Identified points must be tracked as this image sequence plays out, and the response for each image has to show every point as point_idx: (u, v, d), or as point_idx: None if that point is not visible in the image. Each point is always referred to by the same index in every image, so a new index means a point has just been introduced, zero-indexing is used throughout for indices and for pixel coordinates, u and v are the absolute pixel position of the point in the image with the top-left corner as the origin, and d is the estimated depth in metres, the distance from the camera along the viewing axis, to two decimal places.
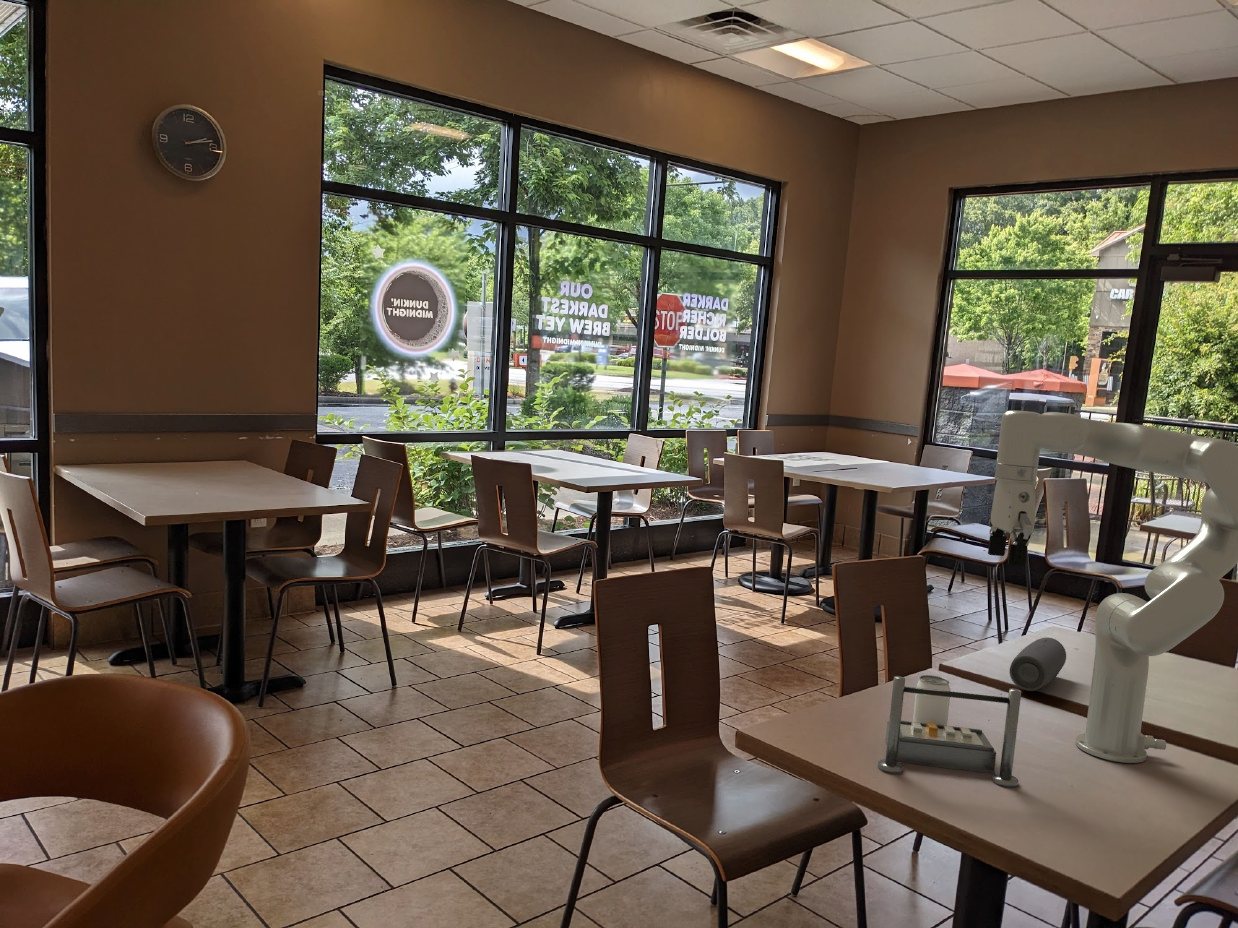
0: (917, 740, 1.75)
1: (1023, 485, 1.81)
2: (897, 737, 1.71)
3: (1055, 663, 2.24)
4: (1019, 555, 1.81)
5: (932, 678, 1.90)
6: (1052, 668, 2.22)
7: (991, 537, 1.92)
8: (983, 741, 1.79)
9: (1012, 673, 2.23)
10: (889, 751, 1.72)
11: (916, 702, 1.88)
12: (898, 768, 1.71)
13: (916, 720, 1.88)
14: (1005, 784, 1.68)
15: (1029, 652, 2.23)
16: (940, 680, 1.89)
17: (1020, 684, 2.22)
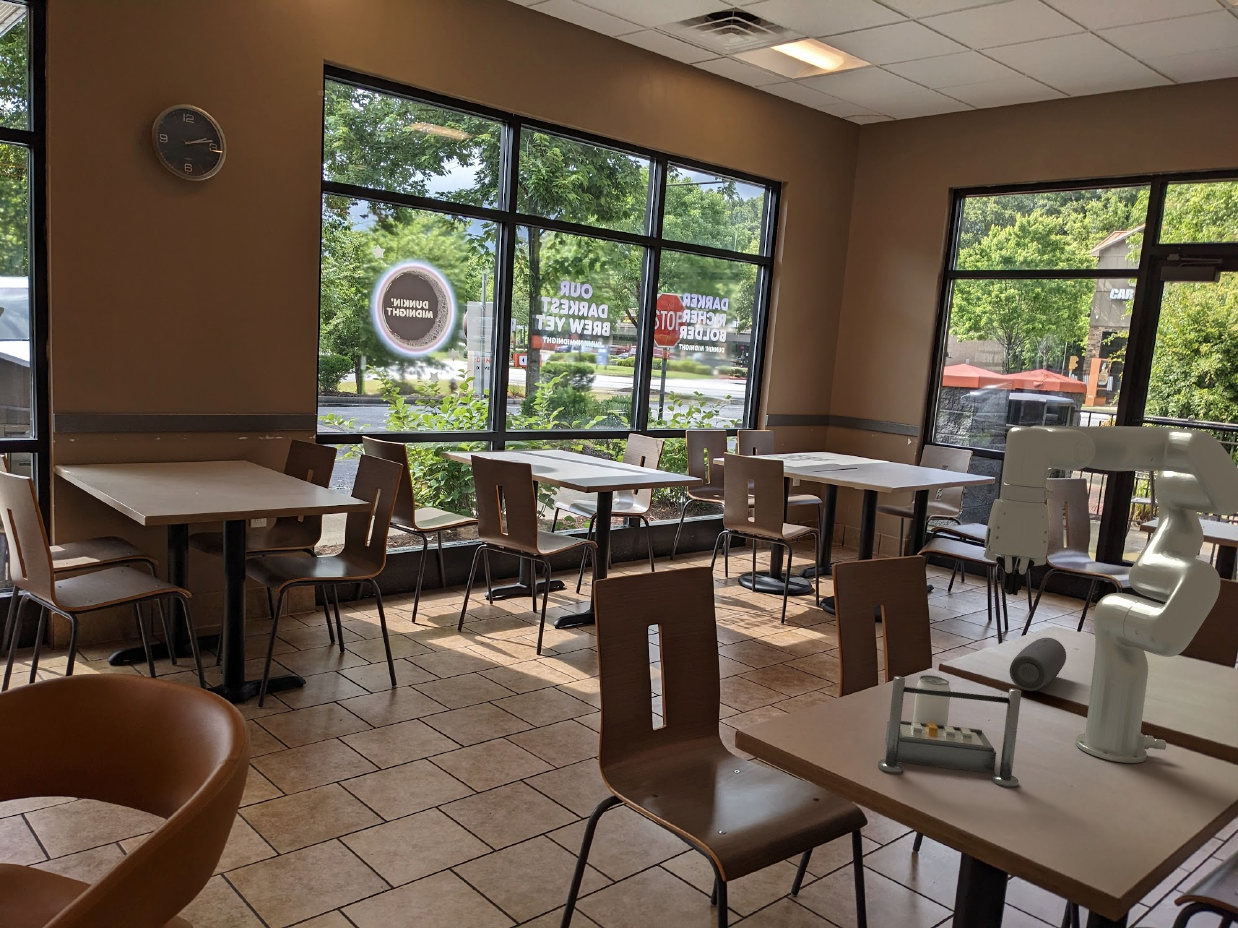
0: (917, 740, 1.75)
1: None
2: (897, 737, 1.71)
3: (1055, 663, 2.24)
4: None
5: (932, 678, 1.90)
6: (1052, 668, 2.22)
7: (1013, 575, 1.73)
8: (983, 741, 1.79)
9: (1012, 673, 2.23)
10: (889, 751, 1.72)
11: (916, 702, 1.88)
12: (898, 768, 1.71)
13: (916, 720, 1.88)
14: (1005, 784, 1.68)
15: (1029, 652, 2.23)
16: (940, 680, 1.89)
17: (1020, 684, 2.22)
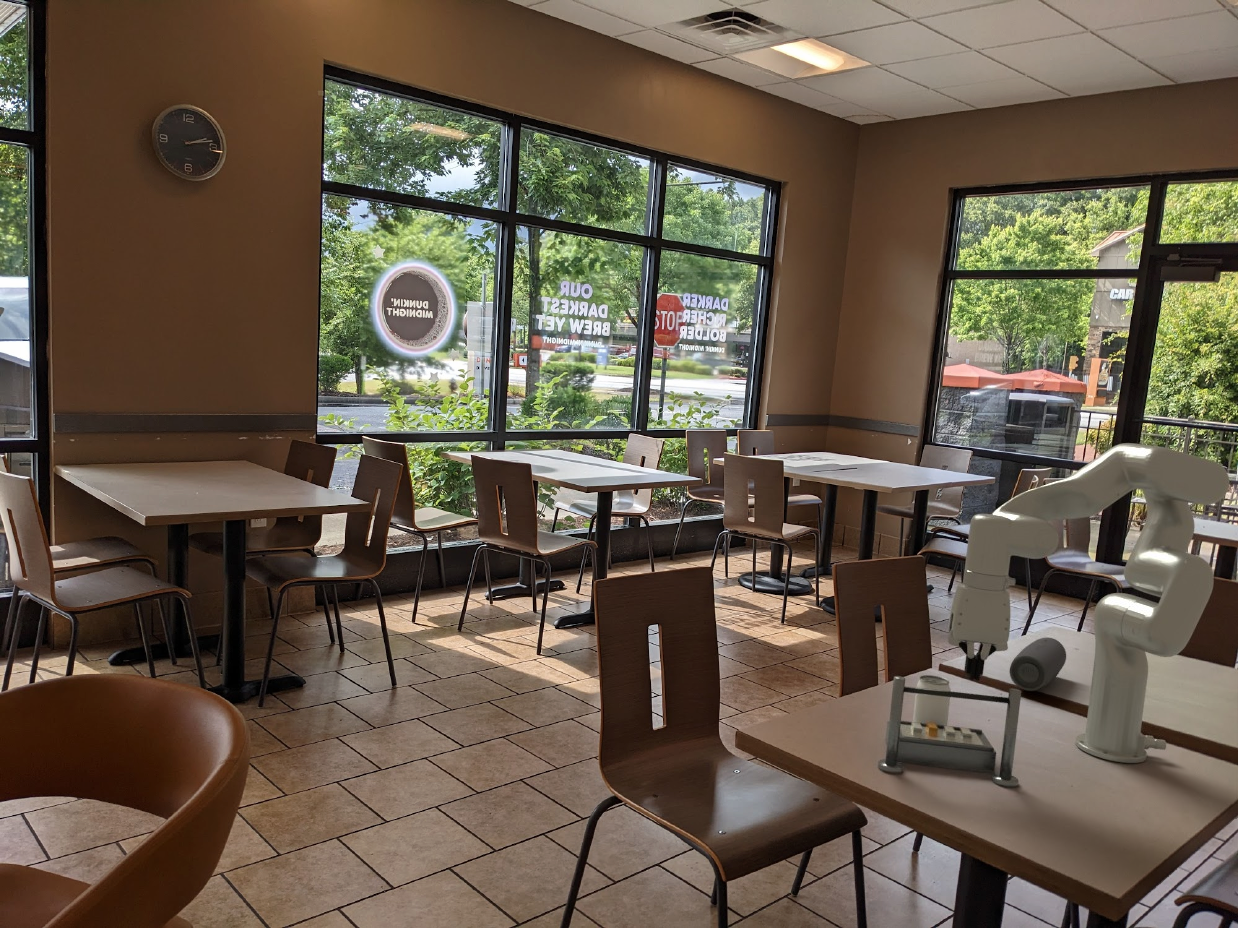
0: (917, 740, 1.75)
1: None
2: (897, 737, 1.71)
3: (1055, 663, 2.24)
4: None
5: (932, 678, 1.90)
6: (1052, 668, 2.22)
7: (975, 661, 1.75)
8: (983, 741, 1.79)
9: (1012, 673, 2.23)
10: (889, 751, 1.72)
11: (916, 702, 1.88)
12: (898, 768, 1.71)
13: (916, 720, 1.88)
14: (1005, 784, 1.68)
15: (1029, 652, 2.23)
16: (940, 680, 1.89)
17: (1020, 684, 2.22)
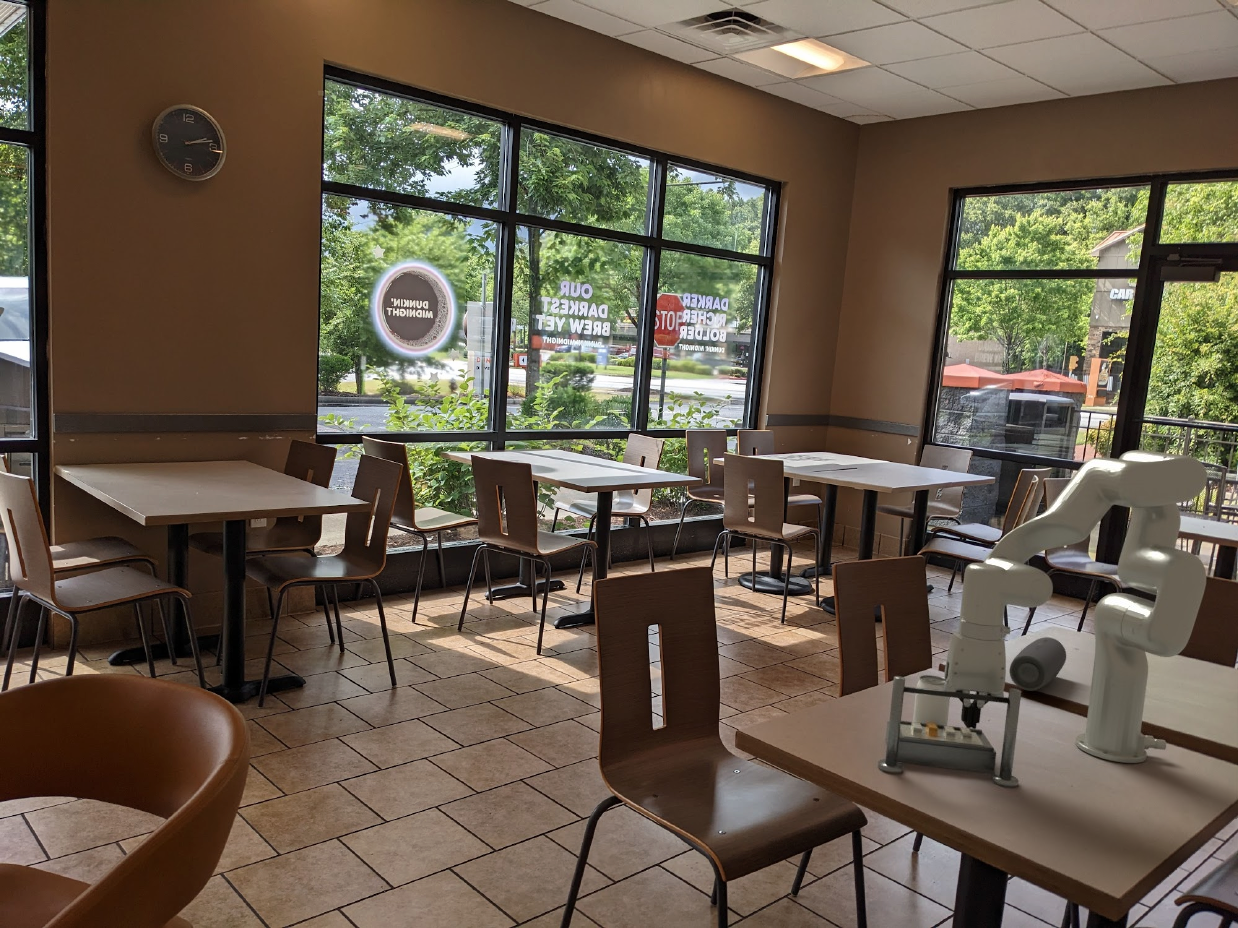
0: (917, 740, 1.75)
1: None
2: (897, 737, 1.71)
3: (1055, 663, 2.24)
4: None
5: (932, 678, 1.90)
6: (1052, 668, 2.22)
7: (972, 709, 1.76)
8: (983, 741, 1.79)
9: (1012, 673, 2.23)
10: (889, 751, 1.72)
11: (916, 702, 1.88)
12: (898, 768, 1.71)
13: (916, 720, 1.88)
14: (1005, 784, 1.68)
15: (1029, 652, 2.23)
16: (940, 680, 1.89)
17: (1020, 684, 2.22)
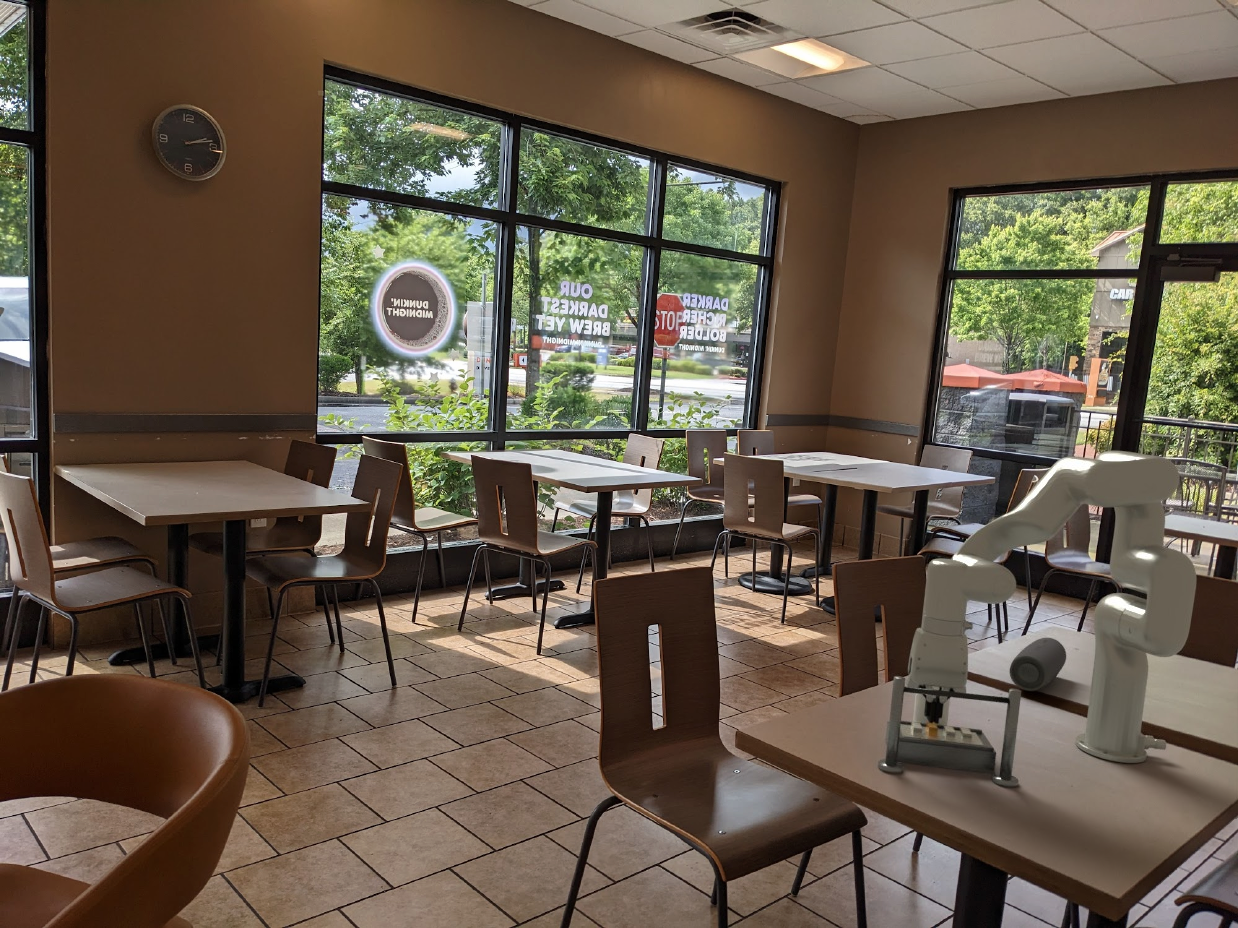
0: (917, 740, 1.75)
1: None
2: (897, 737, 1.71)
3: (1055, 663, 2.24)
4: None
5: None
6: (1052, 668, 2.22)
7: (934, 704, 1.77)
8: (983, 741, 1.79)
9: (1012, 673, 2.23)
10: (889, 751, 1.72)
11: (916, 702, 1.88)
12: (898, 768, 1.71)
13: (916, 720, 1.88)
14: (1005, 784, 1.68)
15: (1029, 652, 2.23)
16: None
17: (1020, 684, 2.22)
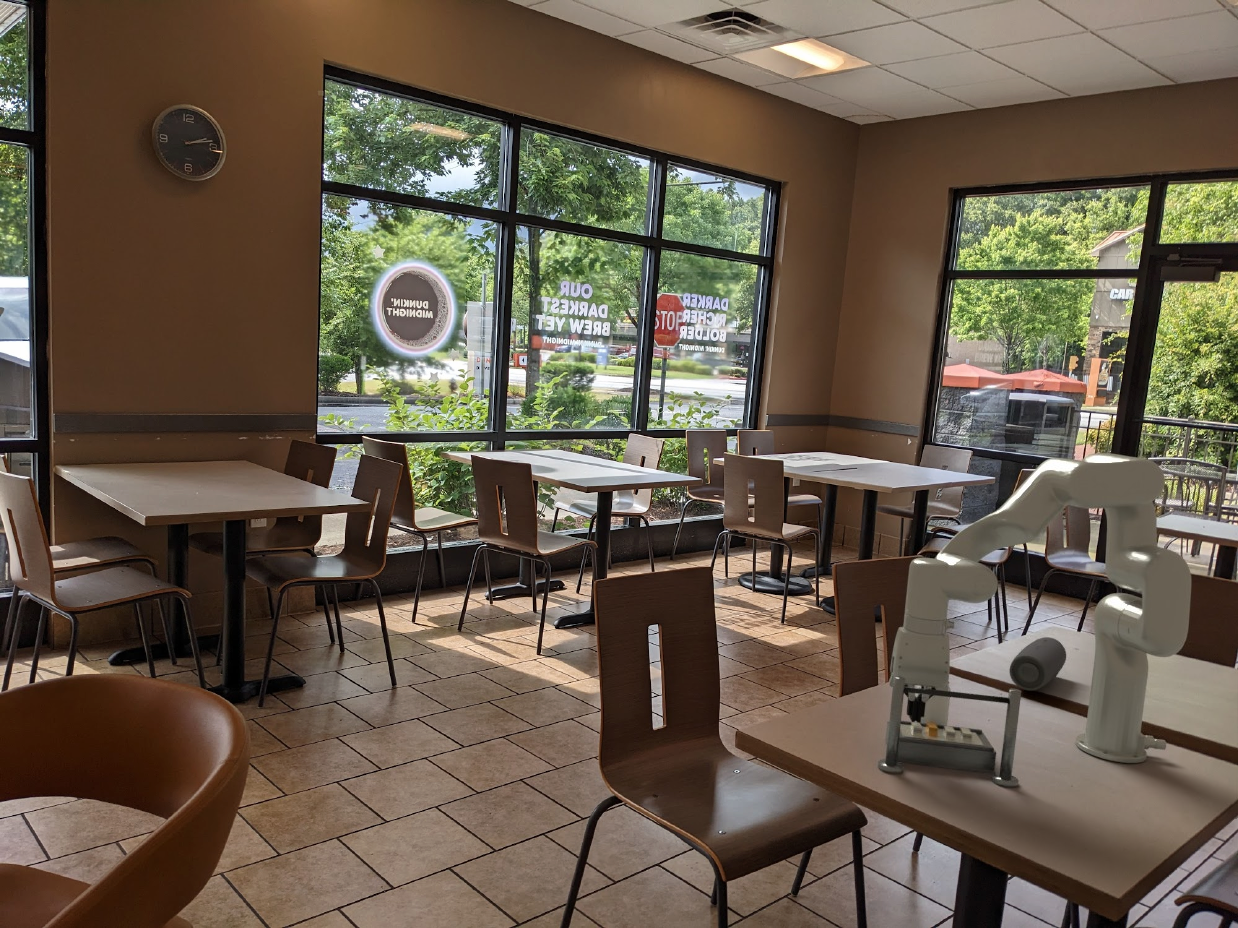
0: (917, 740, 1.75)
1: None
2: (897, 737, 1.71)
3: (1055, 663, 2.24)
4: None
5: None
6: (1052, 668, 2.22)
7: (916, 703, 1.78)
8: (983, 741, 1.79)
9: (1012, 673, 2.23)
10: (889, 751, 1.72)
11: None
12: (898, 768, 1.71)
13: None
14: (1005, 784, 1.68)
15: (1029, 652, 2.23)
16: None
17: (1020, 684, 2.22)
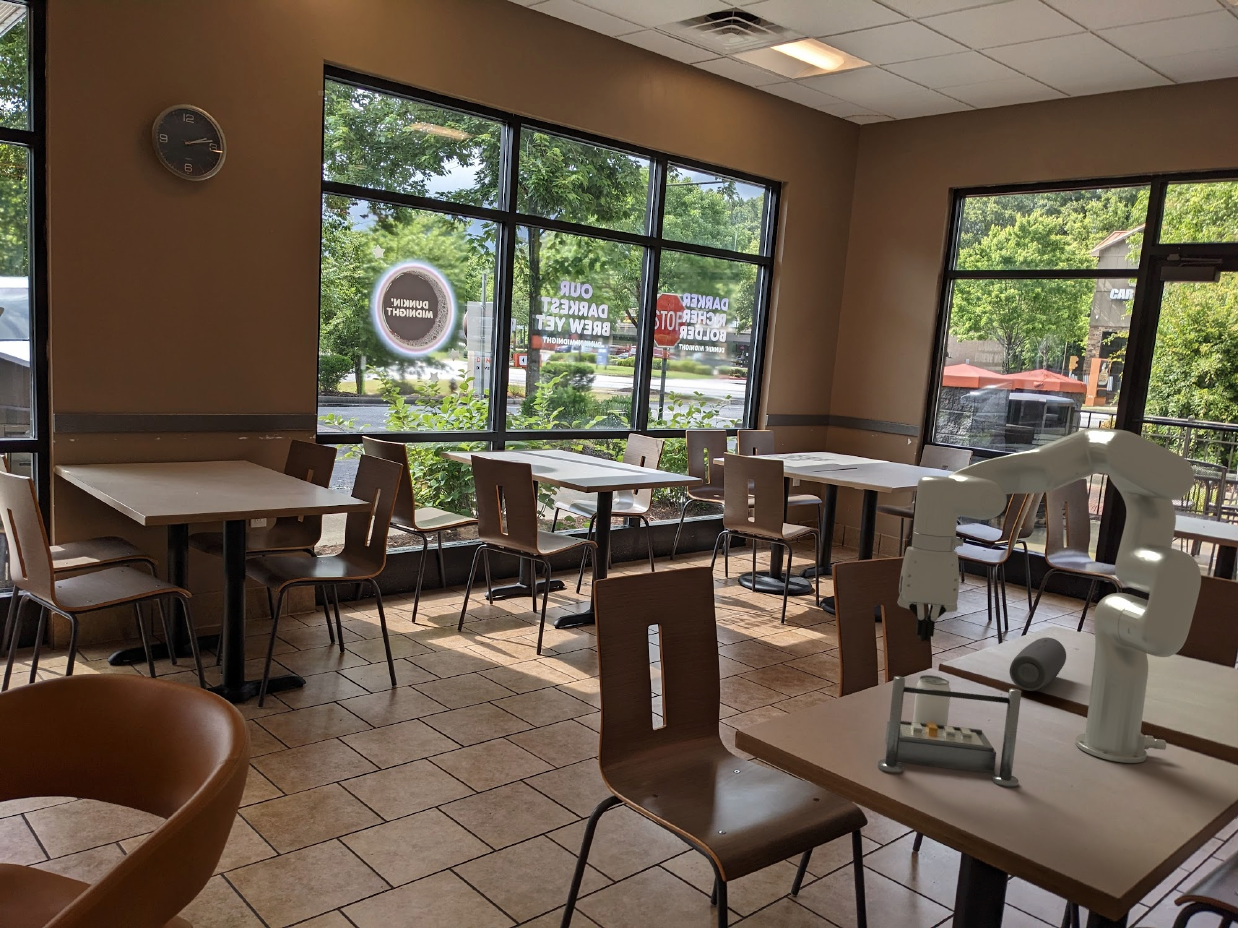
0: (917, 740, 1.75)
1: None
2: (897, 737, 1.71)
3: (1055, 663, 2.24)
4: None
5: (932, 678, 1.90)
6: (1052, 668, 2.22)
7: (925, 622, 1.76)
8: (983, 741, 1.79)
9: (1012, 673, 2.23)
10: (889, 751, 1.72)
11: (916, 702, 1.88)
12: (898, 768, 1.71)
13: (916, 720, 1.88)
14: (1005, 784, 1.68)
15: (1029, 652, 2.23)
16: (940, 680, 1.89)
17: (1020, 684, 2.22)
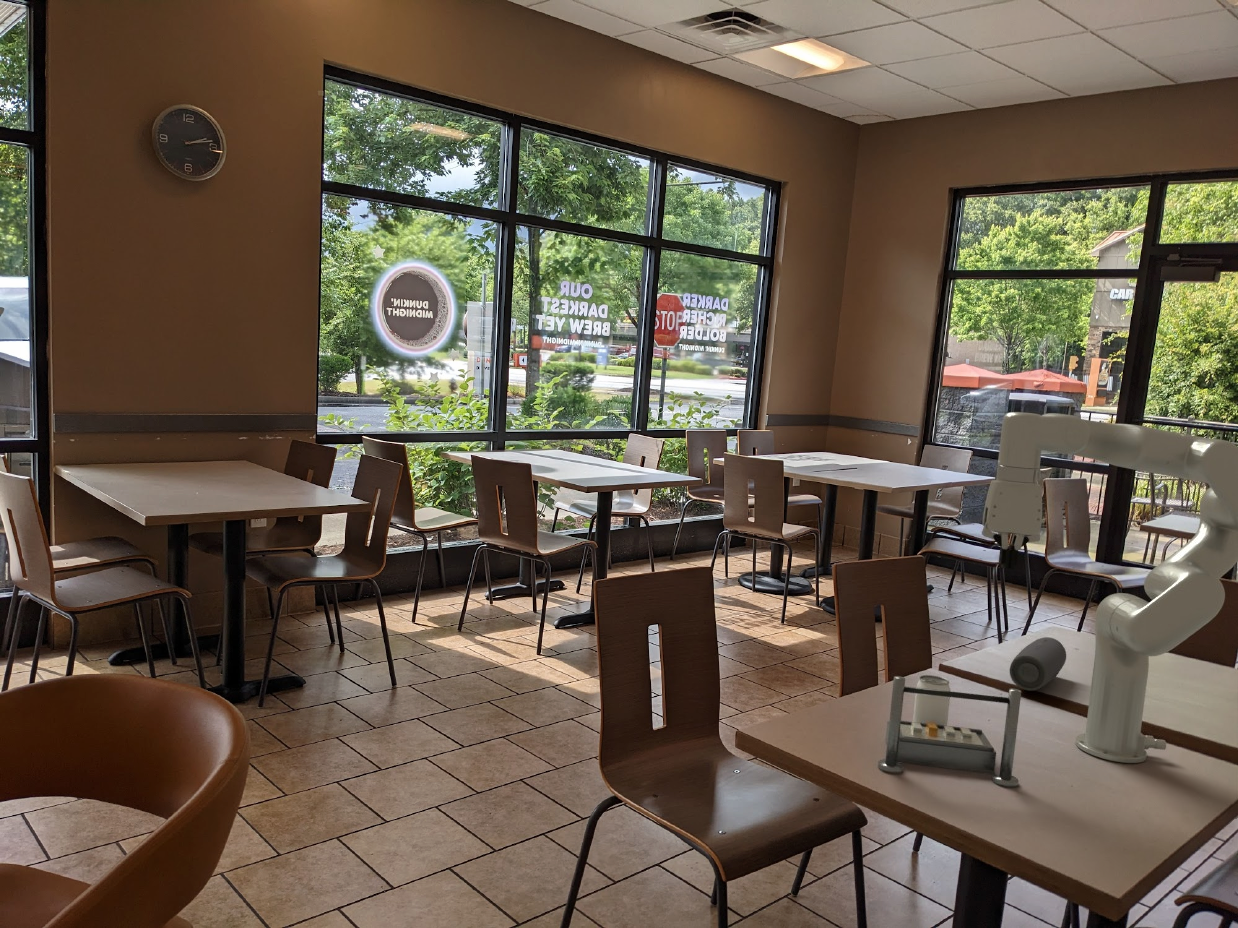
0: (917, 740, 1.75)
1: None
2: (897, 737, 1.71)
3: (1055, 663, 2.24)
4: None
5: (932, 678, 1.90)
6: (1052, 668, 2.22)
7: (1009, 551, 1.85)
8: (983, 741, 1.79)
9: (1012, 673, 2.23)
10: (889, 751, 1.72)
11: (916, 702, 1.88)
12: (898, 768, 1.71)
13: (916, 720, 1.88)
14: (1005, 784, 1.68)
15: (1029, 652, 2.23)
16: (940, 679, 1.89)
17: (1020, 684, 2.22)
